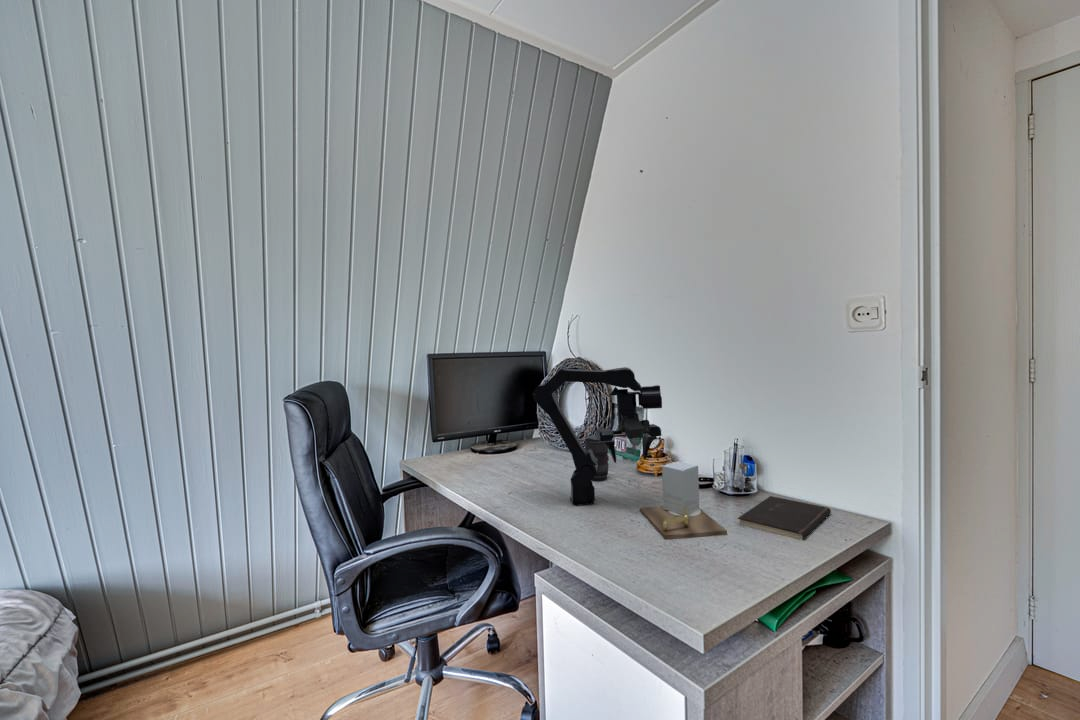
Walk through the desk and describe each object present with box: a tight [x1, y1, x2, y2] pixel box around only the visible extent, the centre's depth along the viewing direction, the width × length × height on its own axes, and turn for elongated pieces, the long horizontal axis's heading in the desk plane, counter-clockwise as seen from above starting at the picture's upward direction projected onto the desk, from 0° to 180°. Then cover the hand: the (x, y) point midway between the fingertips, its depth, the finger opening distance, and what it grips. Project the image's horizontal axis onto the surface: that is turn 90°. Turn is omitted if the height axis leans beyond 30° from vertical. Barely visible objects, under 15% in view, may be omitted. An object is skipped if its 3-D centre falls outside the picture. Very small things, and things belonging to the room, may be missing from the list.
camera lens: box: [584, 434, 609, 482], centre depth 174 cm, size 8×8×15 cm
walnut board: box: [639, 505, 728, 540], centre depth 132 cm, size 16×20×1 cm
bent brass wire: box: [663, 508, 689, 532], centre depth 127 cm, size 12×4×3 cm, turn 137°
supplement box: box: [661, 460, 700, 515], centre depth 138 cm, size 7×7×13 cm
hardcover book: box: [737, 495, 832, 541], centre depth 132 cm, size 16×23×2 cm
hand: (629, 460), depth 147 cm, fingers open, 9 cm apart
